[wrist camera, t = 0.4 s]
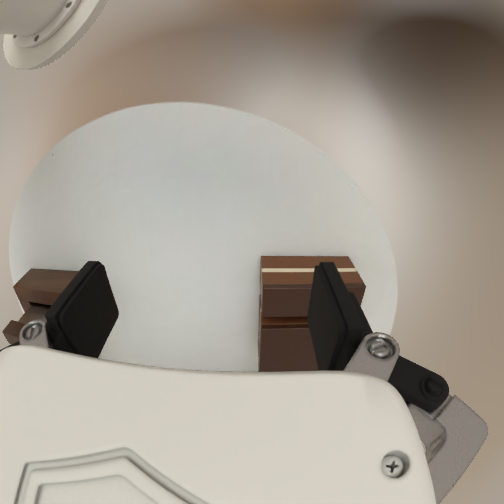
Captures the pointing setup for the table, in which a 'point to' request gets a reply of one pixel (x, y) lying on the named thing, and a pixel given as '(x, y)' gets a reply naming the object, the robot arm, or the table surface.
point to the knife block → (42, 286)
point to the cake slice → (299, 283)
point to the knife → (25, 321)
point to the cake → (285, 344)
